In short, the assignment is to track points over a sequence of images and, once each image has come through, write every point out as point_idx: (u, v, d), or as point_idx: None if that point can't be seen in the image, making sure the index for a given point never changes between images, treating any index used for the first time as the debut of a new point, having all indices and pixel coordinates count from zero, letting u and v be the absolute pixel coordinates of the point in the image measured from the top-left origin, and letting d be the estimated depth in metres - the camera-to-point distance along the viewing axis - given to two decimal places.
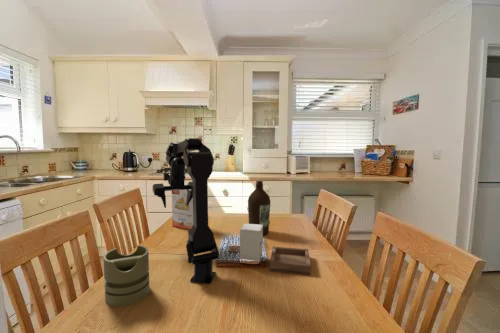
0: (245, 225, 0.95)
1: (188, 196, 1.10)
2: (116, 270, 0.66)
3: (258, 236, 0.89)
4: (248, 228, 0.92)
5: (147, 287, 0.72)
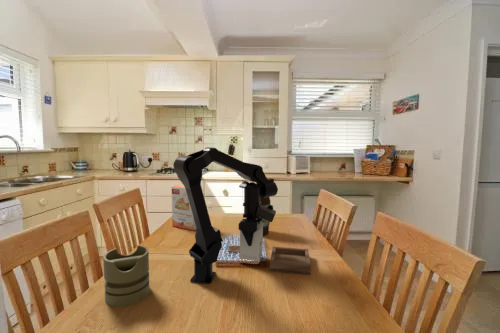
0: None
1: None
2: (116, 270, 0.66)
3: (258, 236, 0.89)
4: None
5: (147, 287, 0.72)
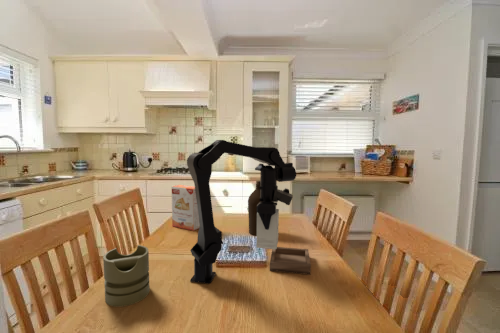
0: None
1: None
2: (116, 270, 0.66)
3: (275, 219, 0.88)
4: None
5: (147, 287, 0.72)
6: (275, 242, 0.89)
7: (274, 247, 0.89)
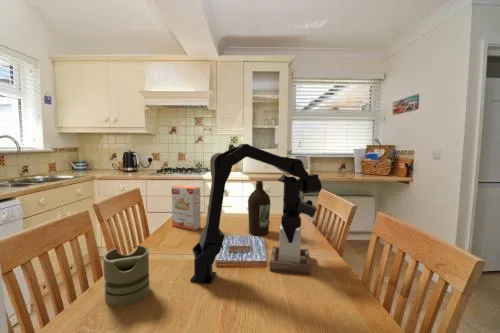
0: None
1: None
2: (116, 270, 0.66)
3: (299, 236, 0.87)
4: None
5: (147, 287, 0.72)
6: (298, 259, 0.88)
7: None
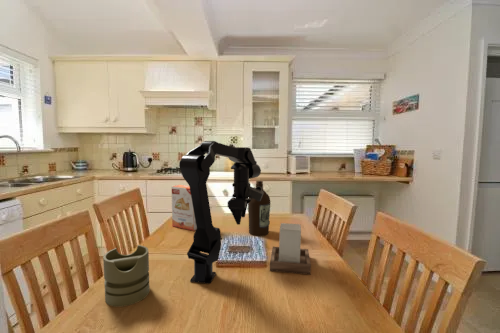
0: (283, 225, 0.92)
1: None
2: (116, 270, 0.66)
3: (299, 236, 0.87)
4: (287, 227, 0.89)
5: (147, 287, 0.72)
6: (298, 259, 0.88)
7: None
